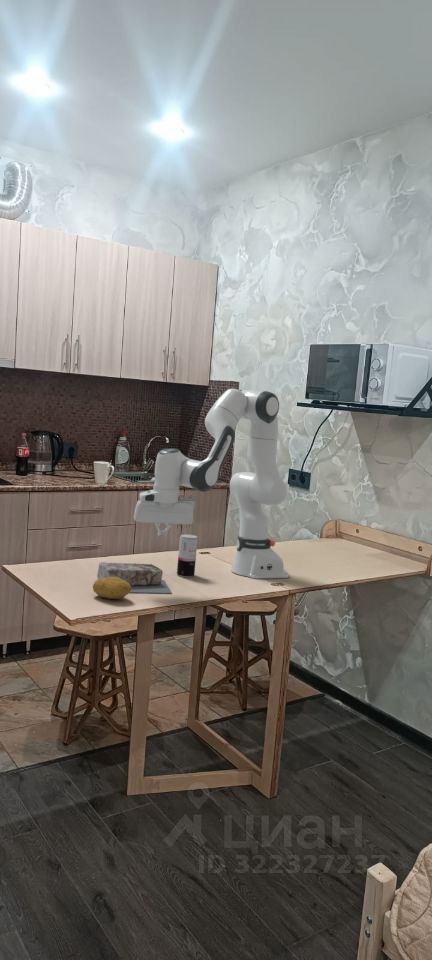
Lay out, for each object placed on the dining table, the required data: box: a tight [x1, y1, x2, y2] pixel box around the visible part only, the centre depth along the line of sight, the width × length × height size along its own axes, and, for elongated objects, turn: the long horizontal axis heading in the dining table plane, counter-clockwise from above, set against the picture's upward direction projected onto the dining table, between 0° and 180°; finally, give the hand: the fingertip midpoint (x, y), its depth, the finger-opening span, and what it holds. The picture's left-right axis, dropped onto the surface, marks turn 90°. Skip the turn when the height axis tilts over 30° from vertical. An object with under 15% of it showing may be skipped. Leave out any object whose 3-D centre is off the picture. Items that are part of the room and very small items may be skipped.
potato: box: [92, 577, 131, 600], centre depth 228 cm, size 9×13×7 cm
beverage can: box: [176, 533, 199, 578], centre depth 264 cm, size 6×6×15 cm
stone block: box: [97, 561, 164, 586], centre depth 248 cm, size 13×7×20 cm
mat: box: [129, 579, 173, 595], centre depth 244 cm, size 19×16×1 cm
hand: (162, 535), depth 244 cm, fingers closed
